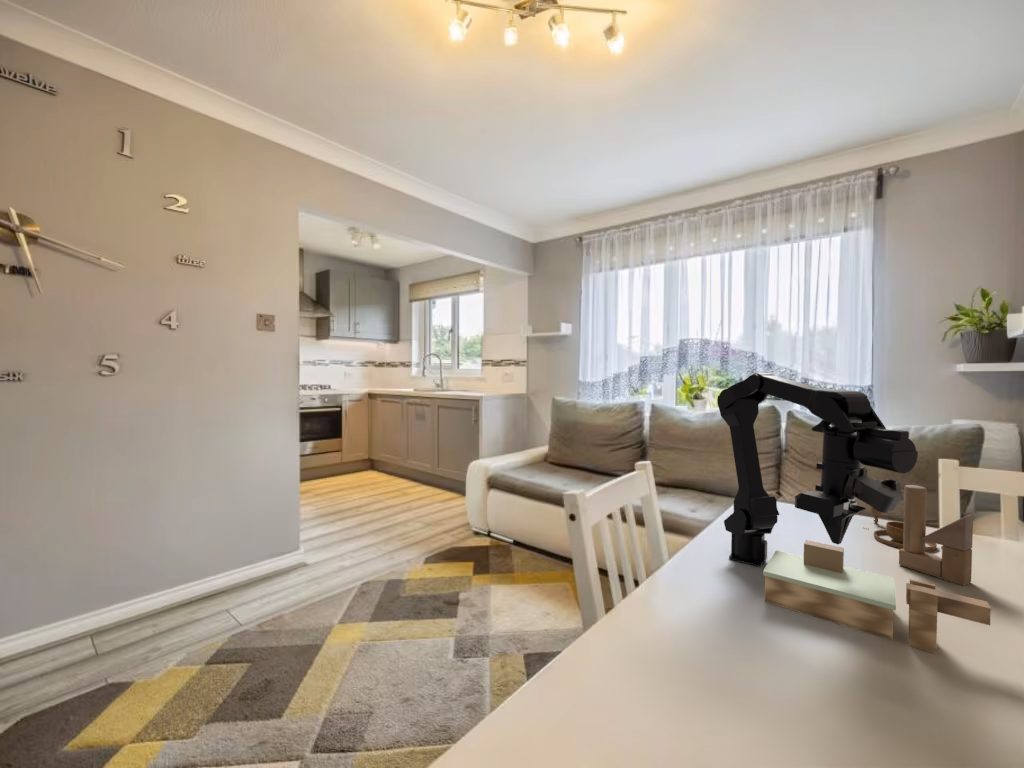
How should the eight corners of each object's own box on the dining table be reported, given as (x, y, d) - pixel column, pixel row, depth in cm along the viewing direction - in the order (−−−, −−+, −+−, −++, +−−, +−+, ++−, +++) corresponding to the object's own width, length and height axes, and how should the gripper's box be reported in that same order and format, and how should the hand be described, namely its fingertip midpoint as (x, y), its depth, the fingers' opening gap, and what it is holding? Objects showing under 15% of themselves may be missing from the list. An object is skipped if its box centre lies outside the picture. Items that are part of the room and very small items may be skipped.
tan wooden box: (764, 602, 81) (765, 554, 81) (776, 578, 91) (777, 535, 90) (936, 654, 66) (937, 595, 66) (929, 619, 76) (931, 568, 75)
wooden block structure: (963, 586, 88) (966, 497, 87) (898, 565, 97) (900, 485, 97) (972, 582, 89) (974, 495, 89) (906, 562, 99) (908, 483, 99)
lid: (763, 575, 81) (763, 549, 81) (775, 554, 91) (776, 531, 91) (895, 610, 69) (896, 580, 69) (894, 582, 79) (895, 555, 79)
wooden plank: (906, 604, 69) (907, 588, 69) (906, 597, 71) (906, 582, 71) (990, 625, 63) (990, 608, 63) (987, 618, 65) (987, 601, 65)
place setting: (854, 540, 113) (855, 518, 113) (868, 523, 127) (868, 503, 127) (950, 562, 100) (951, 537, 100) (953, 540, 114) (954, 517, 114)
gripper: (870, 476, 68) (865, 573, 69) (919, 463, 77) (914, 549, 78) (795, 461, 78) (790, 547, 78) (846, 451, 87) (842, 528, 88)
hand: (836, 543), depth 80 cm, fingers closed
